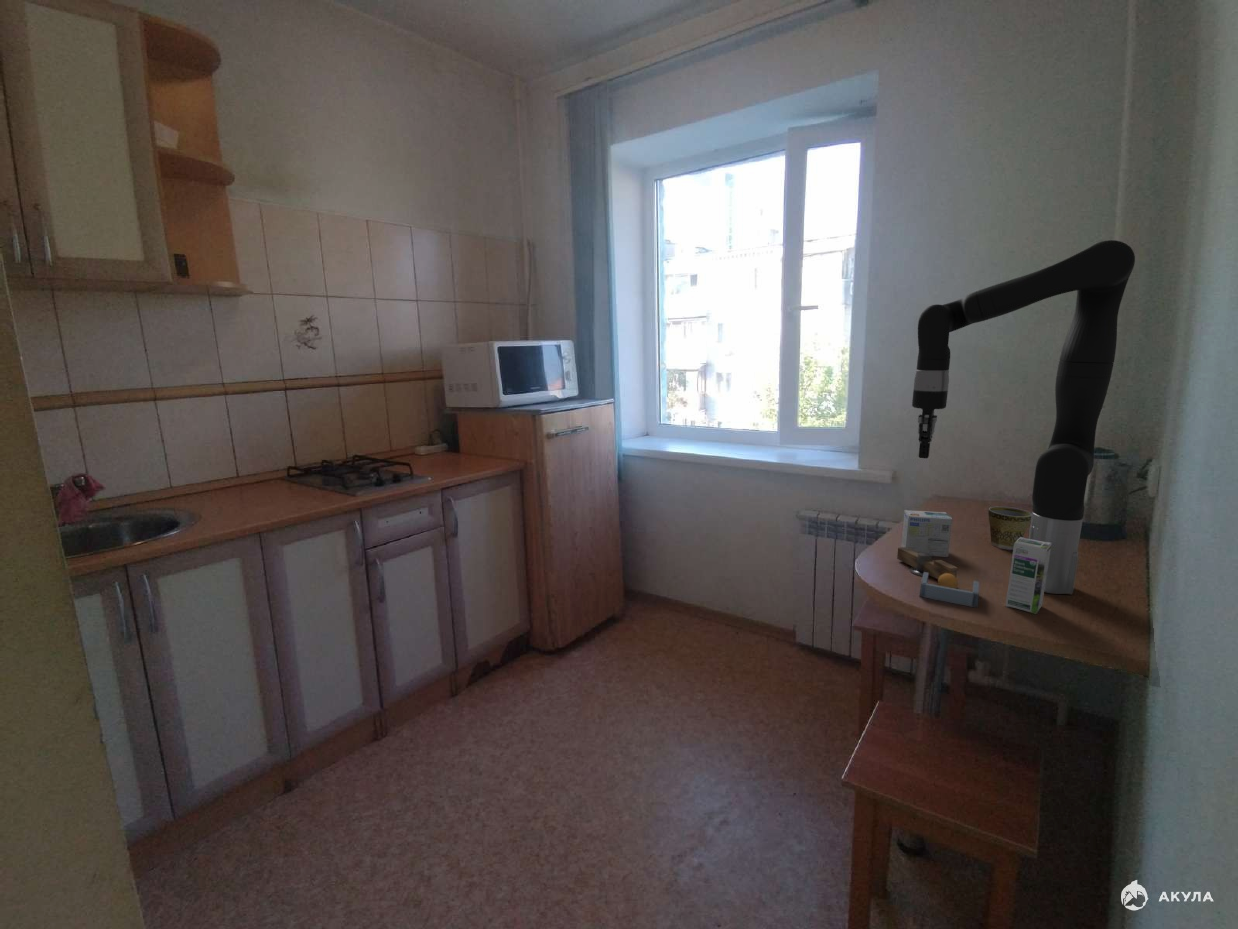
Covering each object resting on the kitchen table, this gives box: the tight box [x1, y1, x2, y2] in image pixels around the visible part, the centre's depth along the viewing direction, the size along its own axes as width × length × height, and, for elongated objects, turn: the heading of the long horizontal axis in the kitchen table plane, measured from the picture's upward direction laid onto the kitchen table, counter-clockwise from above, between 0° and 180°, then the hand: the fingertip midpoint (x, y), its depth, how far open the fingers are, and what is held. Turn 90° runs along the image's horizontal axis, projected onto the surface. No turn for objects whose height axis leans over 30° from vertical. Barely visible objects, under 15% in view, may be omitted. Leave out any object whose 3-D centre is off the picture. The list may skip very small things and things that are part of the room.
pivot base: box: [909, 566, 933, 578], centre depth 143 cm, size 6×6×1 cm
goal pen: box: [919, 572, 980, 609], centre depth 130 cm, size 11×8×3 cm
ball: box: [937, 573, 959, 589], centre depth 132 cm, size 4×4×4 cm
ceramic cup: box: [987, 505, 1032, 551], centre depth 161 cm, size 13×10×10 cm
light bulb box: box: [901, 509, 953, 558], centre depth 156 cm, size 11×7×11 cm, turn 74°
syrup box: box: [1005, 536, 1051, 615], centre depth 123 cm, size 6×6×14 cm
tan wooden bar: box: [896, 546, 959, 580], centre depth 142 cm, size 17×3×4 cm, turn 14°
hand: (923, 457), depth 146 cm, fingers closed
